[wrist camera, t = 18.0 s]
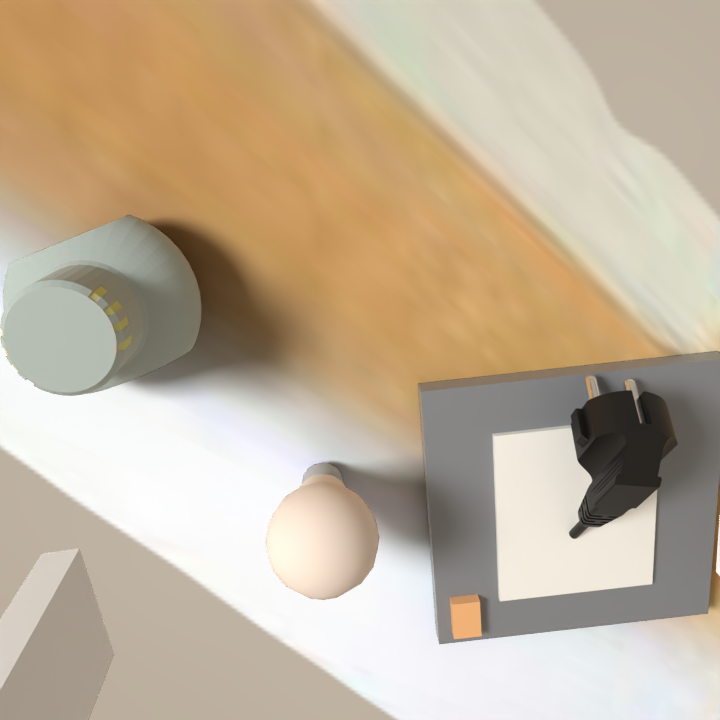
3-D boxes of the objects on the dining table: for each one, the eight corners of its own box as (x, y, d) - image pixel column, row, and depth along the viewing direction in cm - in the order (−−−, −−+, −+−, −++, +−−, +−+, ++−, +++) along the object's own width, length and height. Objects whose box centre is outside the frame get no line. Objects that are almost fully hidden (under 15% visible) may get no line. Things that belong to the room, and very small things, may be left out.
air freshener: (170, 197, 40) (123, 217, 31) (228, 322, 43) (201, 376, 34) (5, 264, 41) (-90, 303, 32) (72, 383, 44) (3, 452, 34)
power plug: (535, 543, 46) (607, 462, 36) (521, 444, 50) (582, 348, 41) (615, 548, 46) (708, 469, 37) (595, 449, 51) (673, 356, 41)
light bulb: (320, 413, 45) (320, 497, 35) (390, 473, 47) (409, 571, 37) (254, 478, 47) (234, 578, 36) (324, 534, 48) (325, 645, 38)
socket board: (417, 383, 45) (422, 396, 43) (716, 351, 45) (736, 362, 43) (436, 630, 51) (441, 652, 49) (697, 600, 52) (713, 620, 50)
